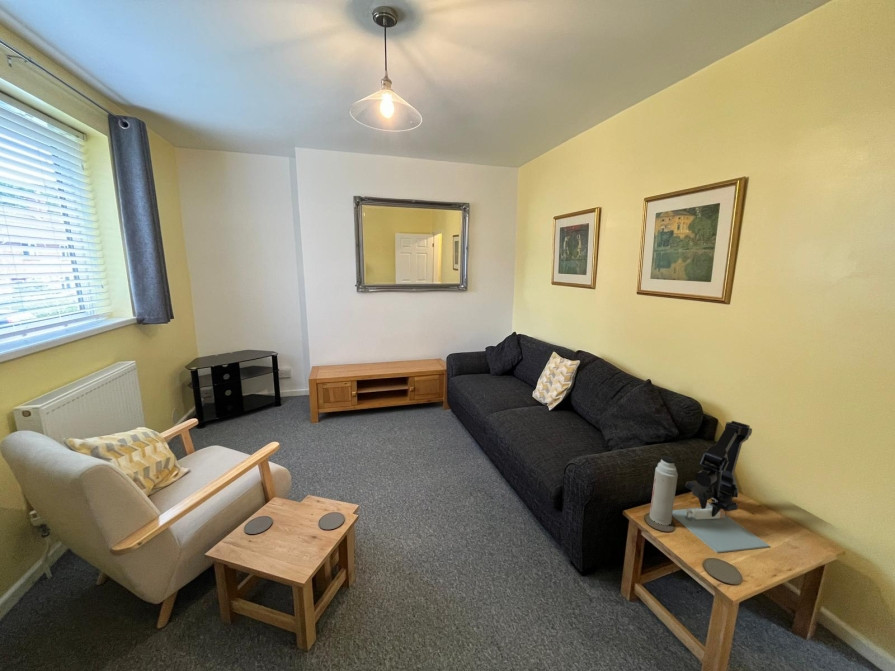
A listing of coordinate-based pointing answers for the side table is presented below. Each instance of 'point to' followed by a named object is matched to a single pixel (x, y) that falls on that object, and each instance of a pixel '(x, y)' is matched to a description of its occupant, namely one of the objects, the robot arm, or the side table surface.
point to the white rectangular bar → (706, 514)
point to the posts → (690, 513)
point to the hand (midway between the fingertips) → (708, 513)
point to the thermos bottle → (663, 491)
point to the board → (720, 533)
